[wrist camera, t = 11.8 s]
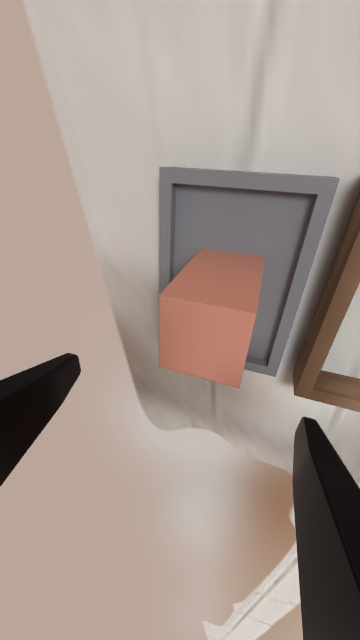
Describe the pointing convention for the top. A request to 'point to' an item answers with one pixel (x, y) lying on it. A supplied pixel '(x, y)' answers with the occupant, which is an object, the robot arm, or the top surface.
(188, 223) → the charcoal tray
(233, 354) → the brick block
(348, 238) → the frame
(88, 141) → the top surface
